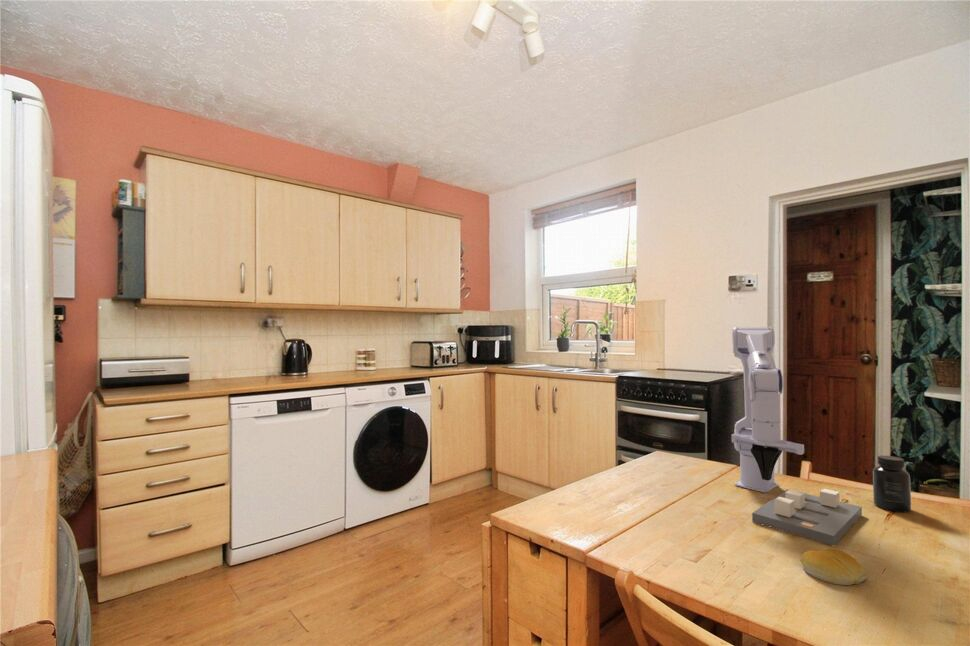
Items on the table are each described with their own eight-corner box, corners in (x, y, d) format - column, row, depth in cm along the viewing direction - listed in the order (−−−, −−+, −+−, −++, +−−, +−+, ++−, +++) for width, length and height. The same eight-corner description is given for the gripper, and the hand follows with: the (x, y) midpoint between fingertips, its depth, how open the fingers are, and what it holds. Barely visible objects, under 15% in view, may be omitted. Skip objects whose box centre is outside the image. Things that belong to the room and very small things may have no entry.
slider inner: (824, 501, 109) (823, 488, 109) (839, 504, 106) (839, 491, 106) (820, 504, 107) (820, 491, 107) (835, 507, 104) (835, 494, 104)
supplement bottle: (917, 510, 108) (916, 460, 108) (900, 515, 106) (899, 463, 106) (883, 500, 115) (882, 452, 115) (866, 504, 112) (865, 455, 112)
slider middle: (789, 502, 108) (789, 489, 108) (804, 505, 106) (804, 493, 106) (785, 505, 106) (785, 492, 106) (800, 509, 104) (800, 496, 104)
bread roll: (790, 564, 84) (790, 543, 84) (834, 561, 85) (833, 539, 86) (829, 590, 76) (829, 566, 76) (876, 585, 77) (876, 562, 77)
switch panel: (787, 497, 117) (787, 489, 117) (861, 515, 106) (861, 506, 106) (752, 521, 102) (752, 512, 103) (833, 545, 91) (833, 535, 91)
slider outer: (779, 509, 104) (779, 496, 104) (794, 513, 101) (794, 500, 101) (774, 513, 102) (774, 499, 102) (789, 517, 99) (789, 503, 99)
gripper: (725, 418, 109) (726, 475, 108) (796, 428, 98) (797, 491, 97) (737, 414, 113) (738, 469, 113) (806, 423, 102) (807, 484, 102)
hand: (766, 479), depth 105 cm, fingers closed
